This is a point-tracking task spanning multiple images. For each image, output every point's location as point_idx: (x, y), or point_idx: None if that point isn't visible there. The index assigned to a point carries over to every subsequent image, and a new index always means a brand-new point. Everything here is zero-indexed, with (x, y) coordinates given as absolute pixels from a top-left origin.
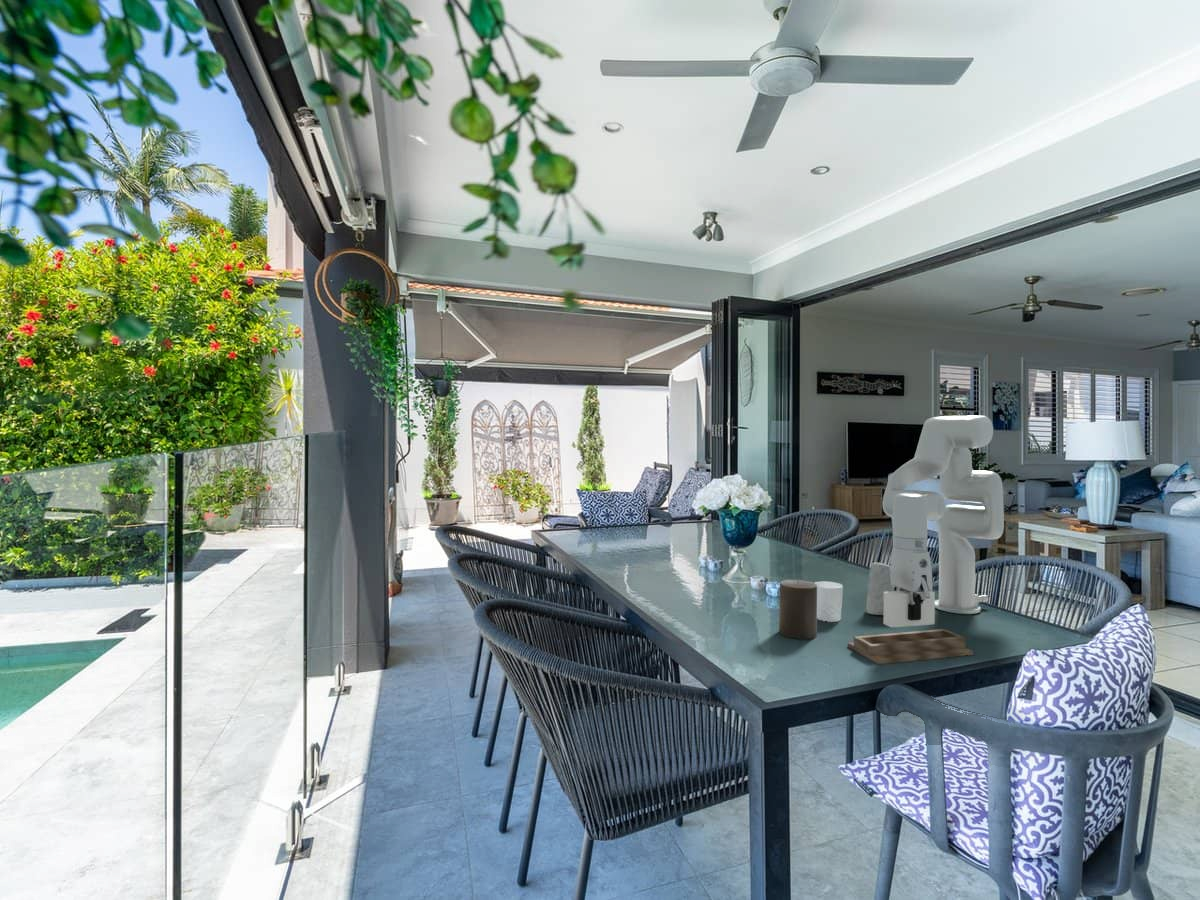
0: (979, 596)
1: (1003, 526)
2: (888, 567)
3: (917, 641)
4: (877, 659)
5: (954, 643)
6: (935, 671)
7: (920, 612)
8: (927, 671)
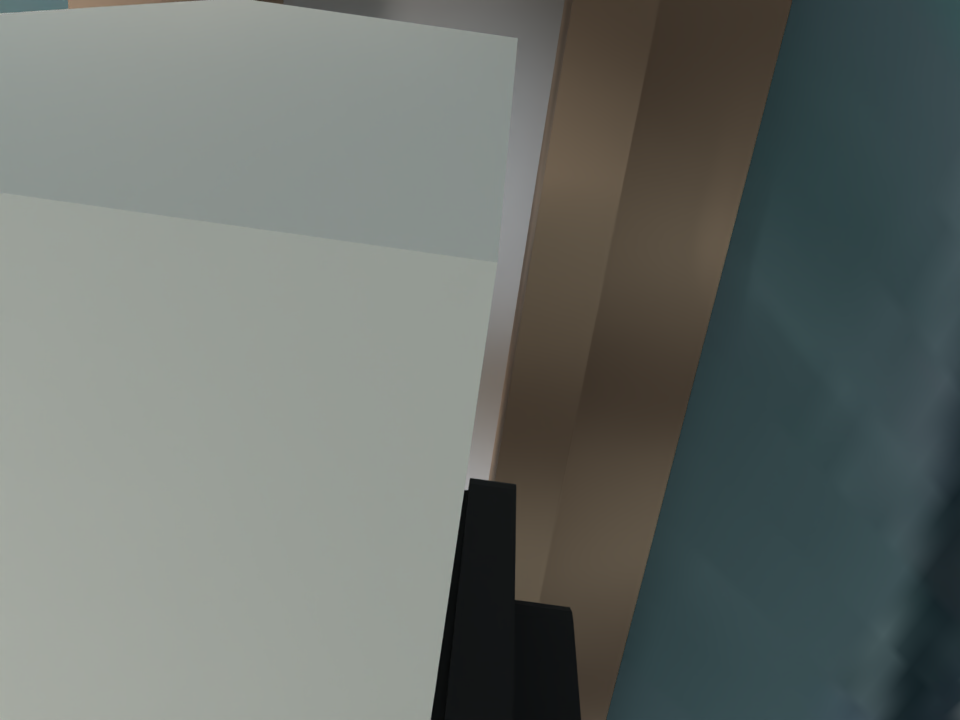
0: None
1: None
2: None
3: (556, 409)
4: None
5: None
6: (953, 510)
7: (510, 585)
8: (909, 571)
